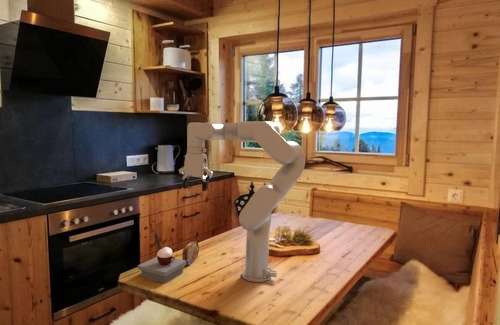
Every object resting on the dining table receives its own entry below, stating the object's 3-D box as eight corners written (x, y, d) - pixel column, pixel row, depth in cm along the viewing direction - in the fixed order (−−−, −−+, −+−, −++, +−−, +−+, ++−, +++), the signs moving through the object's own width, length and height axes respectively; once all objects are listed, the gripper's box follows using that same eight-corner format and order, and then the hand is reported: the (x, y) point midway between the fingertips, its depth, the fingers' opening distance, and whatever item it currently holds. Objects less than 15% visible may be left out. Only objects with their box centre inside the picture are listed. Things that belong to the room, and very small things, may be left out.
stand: (186, 272, 155) (186, 260, 154) (165, 284, 142) (165, 272, 142) (160, 265, 161) (160, 254, 160) (137, 277, 148) (137, 265, 148)
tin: (187, 268, 159) (187, 249, 158) (180, 267, 160) (181, 248, 159) (199, 256, 174) (199, 239, 173) (193, 255, 175) (193, 238, 174)
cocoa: (176, 265, 150) (178, 237, 149) (163, 268, 146) (165, 239, 144) (163, 258, 157) (165, 231, 155) (151, 261, 152) (152, 233, 151)
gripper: (217, 151, 158) (216, 190, 160) (184, 149, 165) (184, 186, 167) (208, 152, 151) (207, 192, 153) (174, 150, 159) (174, 188, 160)
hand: (195, 189), depth 160 cm, fingers open, 9 cm apart
